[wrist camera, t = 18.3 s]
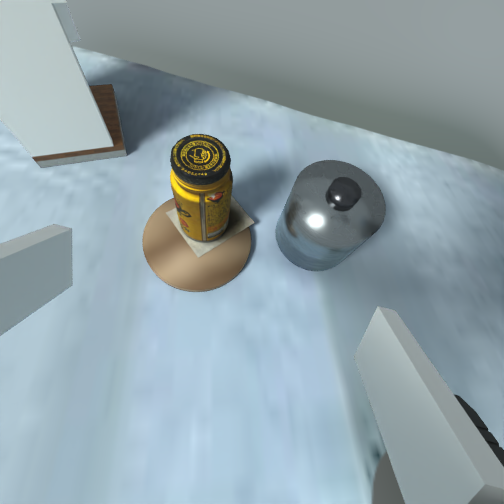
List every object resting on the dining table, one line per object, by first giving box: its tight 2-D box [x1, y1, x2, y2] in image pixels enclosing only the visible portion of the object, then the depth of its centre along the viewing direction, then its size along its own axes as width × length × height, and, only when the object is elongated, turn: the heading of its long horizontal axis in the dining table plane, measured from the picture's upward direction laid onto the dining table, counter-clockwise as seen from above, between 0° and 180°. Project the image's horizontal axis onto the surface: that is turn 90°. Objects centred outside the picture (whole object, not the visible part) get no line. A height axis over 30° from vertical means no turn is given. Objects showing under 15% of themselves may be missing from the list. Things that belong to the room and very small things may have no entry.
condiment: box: [166, 134, 255, 258], centre depth 30 cm, size 7×8×12 cm
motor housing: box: [276, 160, 385, 271], centre depth 33 cm, size 10×10×10 cm
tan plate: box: [143, 198, 251, 292], centre depth 35 cm, size 13×13×1 cm
